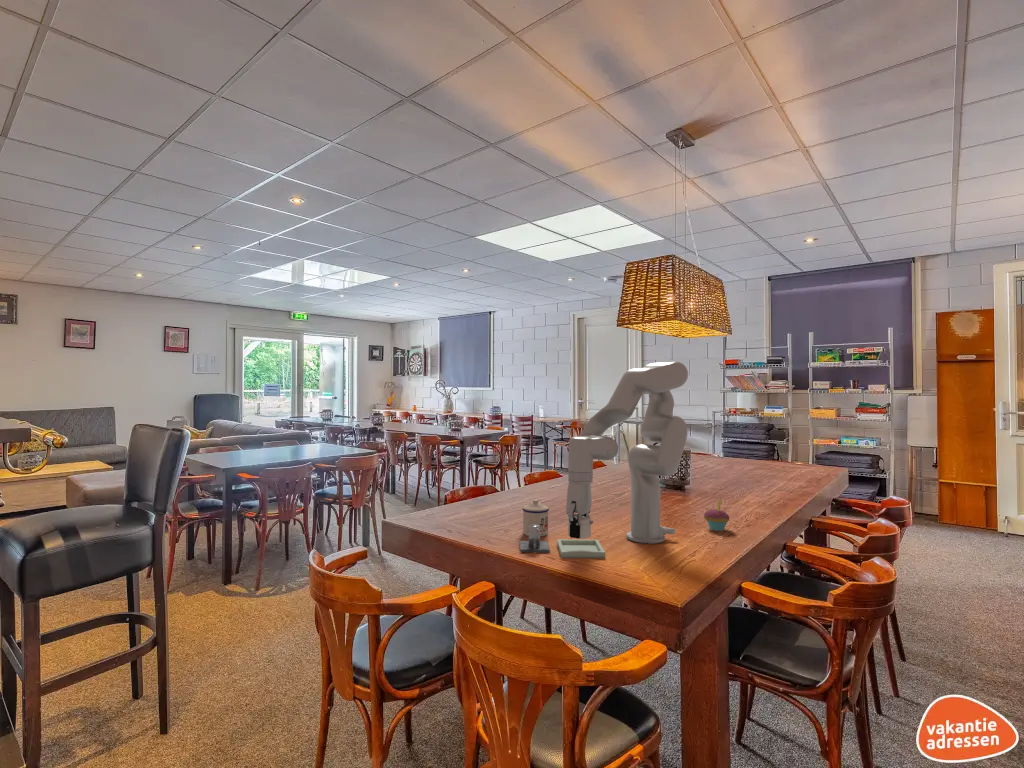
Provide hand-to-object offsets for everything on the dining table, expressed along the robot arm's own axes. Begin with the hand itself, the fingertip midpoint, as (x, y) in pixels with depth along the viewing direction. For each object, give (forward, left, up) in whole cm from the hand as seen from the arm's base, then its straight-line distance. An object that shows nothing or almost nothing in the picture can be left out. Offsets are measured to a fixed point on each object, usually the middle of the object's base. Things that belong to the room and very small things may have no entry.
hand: (579, 534), depth 158 cm
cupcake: (-53, -26, -6) cm, 60 cm away
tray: (0, 0, -5) cm, 5 cm away
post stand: (+14, -3, -5) cm, 15 cm away
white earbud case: (0, 0, 0) cm, 0 cm away
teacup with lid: (+12, -21, -6) cm, 25 cm away
